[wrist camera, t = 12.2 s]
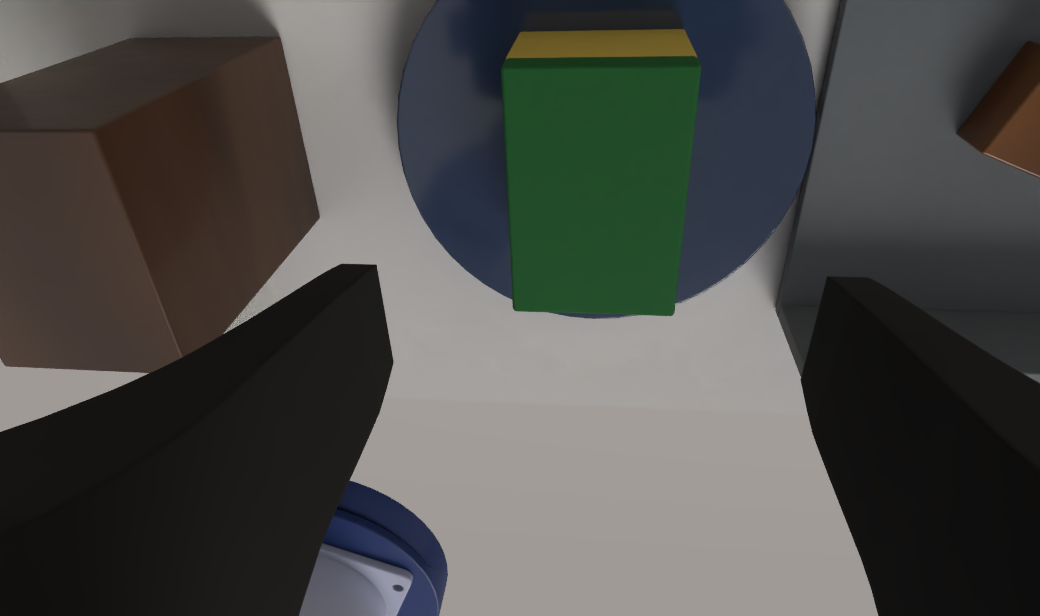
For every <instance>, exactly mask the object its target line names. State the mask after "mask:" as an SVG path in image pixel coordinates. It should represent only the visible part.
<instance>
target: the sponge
mask: <svg viewBox="0 0 1040 616" xmlns="http://www.w3.org/2000/svg"><path fill="white" fill-rule="evenodd" d="M700 75H701V65H700V62H699V60H698V58H697V55H696V53H695V51H694V49H693V47H692V44H691V42H690V40H689V38H688V36H687V34H686V32H685V30H684V29H653V30H593V31H533V32H520V33H519V35H518V37H517V39H516V40H515V42H514V44H513V46H512V48H511V50H510V51H509V53H508V55H507V57H506V59H505V62H504V63H503V65H502V68H501V82H502V102H503V121H504V141H505V161H506V181H507V201H508V221H509V241H510V260H511V280H512V300H513V309H514V311H527V312H559V313H591V314H624V315H656V316H672V315H673V314H674V311H675V302H676V293H677V284H678V275H679V266H680V257H681V247H682V238H683V229H684V220H685V211H686V202H687V193H688V184H689V175H690V166H691V157H692V147H693V138H694V129H695V120H696V111H697V102H698V93H699V84H700Z"/></svg>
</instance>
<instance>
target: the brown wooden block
mask: <svg viewBox="0 0 1040 616" xmlns="http://www.w3.org/2000/svg"><path fill="white" fill-rule="evenodd" d="M319 218H320V216H319V212H318V207H317V203H316V198H315V193H314V189H313V184H312V180H311V175H310V171H309V166H308V162H307V157H306V152H305V148H304V143H303V139H302V134H301V130H300V125H299V120H298V116H297V111H296V107H295V102H294V98H293V93H292V89H291V84H290V79H289V75H288V70H287V66H286V61H285V57H284V52H283V48H282V43H281V38H280V37H278V36H270V37H200V38H130V39H127V40H124V41H121V42H118V43H115V44H113V45H110V46H107V47H104V48H101V49H98V50H95V51H92V52H90V53H87V54H84V55H81V56H78V57H75V58H72V59H69V60H67V61H64V62H61V63H58V64H55V65H52V66H49V67H46V68H43V69H41V70H38V71H35V72H32V73H29V74H26V75H23V76H20V77H18V78H15V79H12V80H9V81H6V82H3V83H0V358H1V360H2V362H3V363H4V365H5V366H11V367H33V368H55V369H76V370H97V371H119V372H141V373H151V372H153V371H155V370H158V369H160V368H162V367H164V366H166V365H168V364H170V363H172V362H174V361H176V360H178V359H180V358H182V357H184V356H186V355H187V354H189V353H191V352H193V351H195V350H197V349H199V348H200V347H202V346H204V345H206V344H207V343H209V342H211V341H213V340H214V339H216V338H218V337H220V336H221V335H223V333H224V332H225V331H226V330H227V329H228V327H229V326H230V325H231V324H232V323H233V321H234V320H235V319H236V318H237V317H238V315H239V314H240V313H241V312H242V311H243V309H244V308H245V307H246V306H247V305H248V303H249V302H250V301H251V300H252V299H253V297H254V296H255V295H256V294H257V293H258V291H259V290H260V289H261V288H262V287H263V285H264V284H265V283H266V282H267V281H268V279H269V278H270V277H271V276H272V275H273V273H274V272H275V271H276V270H277V269H278V267H279V266H280V265H281V264H282V263H283V261H284V260H285V259H286V258H287V257H288V255H289V254H290V253H291V252H292V251H293V249H294V248H295V247H296V246H297V245H298V243H299V242H300V241H301V240H302V239H303V237H304V236H305V235H306V234H307V233H308V231H309V230H310V229H311V228H312V227H313V225H314V224H315V223H316V222H317V221H318V219H319Z"/></svg>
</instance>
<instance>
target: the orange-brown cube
mask: <svg viewBox="0 0 1040 616" xmlns="http://www.w3.org/2000/svg"><path fill="white" fill-rule="evenodd" d="M956 134H957V135H958V136H959V137H960V138H962V139H963V140H964V141H966V142H967V143H968V144H970V145H971V146H972V147H974V148H975V149H976V150H978V151H979V152H980V153H982V154H983V155H986V156H988V157H990V158H993V159H995V160H997V161H1000V162H1002V163H1004V164H1007V165H1009V166H1011V167H1014V168H1016V169H1018V170H1021V171H1023V172H1025V173H1028V174H1030V175H1032V176H1035V177H1037V178H1039V179H1040V44H1038V43H1036V42H1033V41H1027V42H1026V43H1025V45H1024V46H1023V47H1022V49H1021V50H1020V51H1019V52H1018V54H1017V55H1016V56H1015V58H1014V59H1013V60H1012V61H1011V63H1010V64H1009V65H1008V67H1007V68H1006V69H1005V70H1004V72H1003V73H1002V74H1001V76H1000V77H999V78H998V79H997V81H996V82H995V83H994V85H993V86H992V87H991V89H990V90H989V91H988V92H987V94H986V95H985V96H984V98H983V99H982V100H981V101H980V103H979V104H978V105H977V107H976V108H975V109H974V110H973V112H972V113H971V114H970V116H969V117H968V118H967V119H966V121H965V122H964V123H963V125H962V126H961V127H960V129H959V130H958V131H957V133H956Z"/></svg>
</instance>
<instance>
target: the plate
mask: <svg viewBox="0 0 1040 616" xmlns="http://www.w3.org/2000/svg"><path fill="white" fill-rule="evenodd" d="M653 29H684V30H685V32H686V34H687V36H688V38H689V40H690V42H691V44H692V47H693V49H694V51H695V53H696V55H697V58H698V60H699V62H700V65H701V75H700V84H699V93H698V102H697V111H696V120H695V129H694V138H693V147H692V157H691V166H690V175H689V184H688V193H687V202H686V211H685V220H684V229H683V238H682V247H681V257H680V266H679V275H678V284H677V293H676V302H675V305H676V304H679V303H682V302H684V301H686V300H689V299H691V298H693V297H695V296H697V295H699V294H701V293H703V292H705V291H707V290H708V289H710V288H711V287H713V286H715V285H716V284H718V283H719V282H721V281H723V280H724V279H726V278H727V277H728V276H730V275H731V274H732V273H733V272H735V271H736V270H737V269H738V268H740V267H741V266H742V265H743V264H744V263H746V262H747V261H748V260H749V259H750V258H751V257H752V256H753V255H754V254H755V253H756V252H757V251H758V250H759V249H760V248H761V247H762V246H763V244H764V243H765V242H766V241H767V239H768V238H769V237H770V236H771V234H772V233H773V232H774V230H775V229H776V228H777V226H778V225H779V224H780V222H781V221H782V219H783V217H784V215H785V214H786V212H787V210H788V209H789V207H790V205H791V204H792V202H793V200H794V198H795V195H796V193H797V191H798V189H799V186H800V184H801V182H802V179H803V177H804V174H805V170H806V167H807V163H808V160H809V156H810V153H811V149H812V142H813V135H814V128H815V88H814V81H813V74H812V67H811V63H810V60H809V56H808V53H807V50H806V46H805V43H804V40H803V37H802V35H801V33H800V30H799V28H798V26H797V24H796V22H795V20H794V18H793V16H792V13H791V11H790V10H789V8H788V7H787V5H786V4H785V2H784V1H783V0H437V1H436V2H435V3H434V5H433V6H432V8H431V9H430V11H429V12H428V14H427V15H426V17H425V19H424V21H423V23H422V25H421V27H420V29H419V31H418V33H417V35H416V37H415V39H414V41H413V43H412V46H411V49H410V52H409V54H408V57H407V60H406V63H405V66H404V69H403V75H402V80H401V85H400V90H399V95H398V111H397V131H398V144H399V151H400V156H401V161H402V166H403V171H404V174H405V177H406V180H407V183H408V186H409V189H410V192H411V195H412V197H413V199H414V201H415V203H416V205H417V207H418V209H419V212H420V214H421V216H422V218H423V219H424V221H425V222H426V224H427V225H428V227H429V228H430V230H431V232H432V233H433V235H434V236H435V238H436V239H437V240H438V241H439V242H440V244H441V245H442V246H443V247H444V248H445V250H446V251H447V252H448V253H449V254H450V255H451V256H452V257H453V258H454V259H455V260H456V261H457V262H458V263H459V264H460V265H461V266H462V267H463V268H464V269H465V270H466V271H468V272H469V273H470V274H472V275H473V276H474V277H476V278H477V279H478V280H480V281H481V282H482V283H484V284H485V285H487V286H488V287H490V288H492V289H494V290H495V291H497V292H499V293H500V294H502V295H504V296H506V297H508V298H510V299H512V280H511V260H510V241H509V221H508V201H507V181H506V161H505V141H504V121H503V102H502V82H501V68H502V65H503V63H504V62H505V59H506V57H507V55H508V53H509V51H510V50H511V48H512V46H513V44H514V42H515V40H516V39H517V37H518V35H519V33H520V32H533V31H593V30H653ZM549 313H554V314H559V315H564V316H569V317H580V318H592V319H597V318H620V317H628V316H636V315H624V314H591V313H559V312H549Z"/></svg>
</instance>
